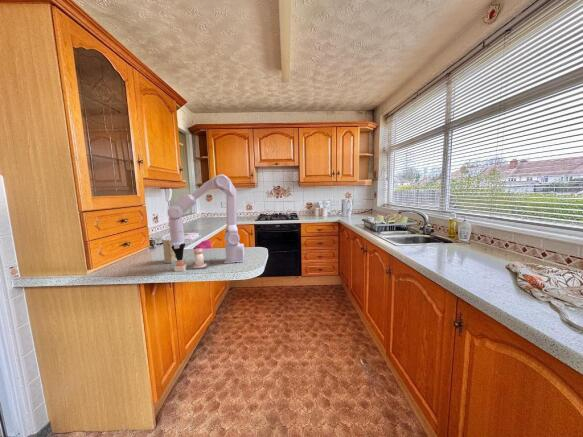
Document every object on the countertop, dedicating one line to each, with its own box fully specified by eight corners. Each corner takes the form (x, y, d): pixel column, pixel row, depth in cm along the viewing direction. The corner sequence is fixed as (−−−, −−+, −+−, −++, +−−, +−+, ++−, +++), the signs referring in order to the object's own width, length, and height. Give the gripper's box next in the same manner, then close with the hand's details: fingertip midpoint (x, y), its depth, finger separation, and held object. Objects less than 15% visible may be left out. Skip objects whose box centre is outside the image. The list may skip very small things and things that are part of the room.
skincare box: (171, 263, 119) (169, 240, 117) (164, 263, 120) (161, 240, 118) (180, 259, 125) (177, 237, 124) (173, 259, 126) (170, 237, 125)
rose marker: (205, 263, 114) (203, 248, 113) (202, 266, 110) (201, 250, 109) (197, 264, 114) (195, 248, 113) (194, 266, 110) (192, 250, 109)
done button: (184, 264, 111) (184, 260, 110) (182, 266, 108) (182, 262, 108) (178, 265, 111) (178, 261, 110) (176, 267, 108) (176, 263, 107)
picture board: (212, 261, 120) (212, 260, 120) (206, 268, 110) (206, 267, 109) (194, 262, 119) (194, 261, 119) (187, 269, 109) (186, 268, 109)
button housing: (187, 267, 112) (186, 263, 111) (183, 270, 108) (183, 266, 107) (178, 268, 111) (177, 263, 111) (174, 271, 107) (174, 266, 107)
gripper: (169, 229, 112) (172, 256, 114) (164, 235, 99) (168, 265, 101) (185, 228, 115) (187, 254, 117) (182, 233, 101) (186, 263, 103)
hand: (179, 259), depth 109 cm, fingers closed
